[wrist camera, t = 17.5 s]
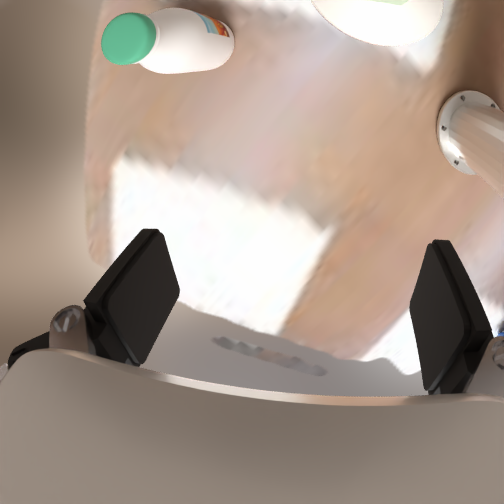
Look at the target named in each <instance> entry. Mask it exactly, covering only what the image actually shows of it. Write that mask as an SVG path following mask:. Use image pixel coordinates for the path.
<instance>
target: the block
mask: <svg viewBox="0 0 504 504" xmlns="http://www.w3.org/2000/svg"><path fill="white" fill-rule="evenodd" d="M367 1H375V2H382V3H388V4H394V5H399V6H401V5H403V4H404V3H406V2H407V1H409V0H367Z"/></svg>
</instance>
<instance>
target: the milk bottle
mask: <svg viewBox="0 0 504 504" xmlns="http://www.w3.org/2000/svg"><path fill="white" fill-rule="evenodd" d="M101 47H102V51H103V54H104V56H105V57H106V58H107V59H108V60H109V61H110V62H112V63H115V64H118V65H127V64H135V63H139V64H141V65H142V66H143V67H145V68H147V69H148V70H151V71H154V72H157V73H164V74H174V73H186V72H195V71H205V70H211V69H215V68H217V67H219V66H221V65H223V64H224V63H225V62H226V61H227V60H228V59H229V58H230V56H231V54H232V52H233V49H234V36H233V33H232V31H231V30H230V28H229V27H228V26H227V25H226V24H224V23H223V22H221V21H219V20H216V19H214V18H211V17H209V16H206V15H203V14H200V13H197V12H194V11H191V10H187V9H182V8H166V9H161V10H158V11H155V12H153V13H151V14H149V15H146V14H139V13H125V14H121V15H119V16H117V17H115V18H114V19H113V20H112V21H111V22H110V23H109V24H108V25H107V27H106V28H105V30H104V32H103V35H102V41H101Z"/></svg>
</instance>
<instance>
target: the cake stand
mask: <svg viewBox="0 0 504 504" xmlns="http://www.w3.org/2000/svg"><path fill="white" fill-rule="evenodd" d="M311 2H312V4H313V5H314V7H315V8H316V9H317V11H318V12H319V13H320V14H321V15H322V16H323V18H325V19H326V20H327V21H328V22H329V23H330V24H331V25H333V26H334V27H335V28H337V29H338V30H340V31H341V32H343V33H345V34H346V35H348V36H351V37H353V38H355V39H357V40H360V41H363V42H366V43H370V44H374V45H380V46H400V45H406V44H410V43H414V42H417V41H419V40H421V39H423V38H425V37H426V36H427V35H429V34H430V33H431V32H432V31H433V30H434V29H435V28H436V26H437V25H438V23H439V21H440V19H441V16H442V12H443V0H409V1H407V2H406V3H404V4H403V5H401V6H399V5H394V4H388V3H382V2H375V1H367V0H311Z"/></svg>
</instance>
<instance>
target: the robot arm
mask: <svg viewBox="0 0 504 504" xmlns="http://www.w3.org/2000/svg"><path fill="white" fill-rule="evenodd" d="M460 96H461V99H460ZM442 125H443V128H441V126H442ZM437 139H438V144H439V146H440V149H441V151H442V153H443V155H444V157H445V158H446V159H447V161H448V162H449V163H450V164H451V165H452V166H453V167H454V168H456V169H457V170H459V171H460V172H463V173H465V174H471V175H477V174H478V175H479V176H480V177H481V178H482V179H483V180H484V181H485V182H486V183H487V184H488V185H490V186H491V187H492V188H493V189H494V190H495V191H496V192H497V193H498V194H499V195H500V196H501V197H502V198H503V199H504V112H503V111H501V110H500V108H499V107H498V106H497V104H496V103H495V102H494V101H493V100H492V99H491V98H490V97H488V96H487V95H485V94H483V93H481V92H478V91H474V90H464V91H459V92H457V93H455V94H453V95H452V96H451V97H450V98H448V99H447V101H446V102H445V103H444V105H443V106H442V108H441V110H440V113H439V116H438V120H437ZM454 161H455V162H454ZM179 293H180V288H179V285H178V282H177V278H176V275H175V272H174V269H173V265H172V262H171V259H170V255H169V252H168V248H167V245H166V241H165V238H164V235H163V234H162V233H160V231H159V230H158V229H142V230H141V231H140V232H139V233H138V235H137V236H136V237H135V238H134V239H133V240H132V241H131V243H130V244H129V245H128V246H127V247H126V248H125V250H124V251H123V252H122V253H121V254H120V255H119V257H118V258H117V259H116V260H115V261H114V263H113V264H112V265H111V266H110V267H109V269H108V270H107V271H106V272H105V274H104V275H103V276H102V277H101V279H100V280H99V281H98V282H97V284H96V285H95V286H94V287H93V289H92V290H91V291H90V293H89V294H88V295H87V297H86V298H85V299H84V300H83V301H84V303H85V305H86V308H85V309H84V310H83V308H82V307H81V306H78V305H70V306H67V307H65V308H63V309H61V310H60V311H58V312H57V313H56V314H55V316H54V317H53V318H52V320H51V323H50V331H49V332H46V333H44V334H42V335H40V336H38V337H36V338H33V339H31V340H29V341H27V342H25V343H23V344H21V345H19V346H17V347H16V348H15V349H13V351H12V353H11V355H10V357H9V360H8V365H7V364H6V363H5V364H3V365H2V366H1V367H0V504H504V336H498V337H495V338H494V337H493V334H492V332H491V331H492V329H491V326H490V323H489V321H488V318H487V316H486V314H485V311H484V309H483V306H482V304H481V302H480V300H479V297H478V295H477V293H476V291H475V289H474V286H473V284H472V282H471V280H470V278H469V276H468V274H467V272H466V270H465V268H464V266H463V264H462V262H461V260H460V258H459V256H458V255H457V253H456V251H455V249H454V247H453V245H452V244H451V242H450V241H449V240H436V239H435V240H433V242H432V244H431V243H429V244H428V246H427V249H426V253H425V256H424V260H423V263H422V267H421V270H420V273H419V276H418V280H417V283H416V286H415V289H414V292H413V295H412V298H411V301H410V307H409V308H410V315H411V319H412V324H413V328H414V333H415V338H416V343H417V348H418V354H419V360H420V366H421V372H422V379H423V386H424V389H425V390H426V391H427V390H428V393H429V395H422V396H393V397H392V396H391V397H347V396H346V397H344V396H323V395H322V396H321V395H307V394H294V393H283V392H273V391H264V390H256V389H248V388H241V387H233V386H227V385H221V384H215V383H209V382H204V381H198V380H193V379H188V378H183V377H178V376H174V375H169V374H165V373H160V372H156V371H151V370H147V369H143V368H140V367H139V366H140V364H143V363H144V362H145V361H146V359H147V356H148V355H149V353H150V351H151V349H152V347H153V345H154V342H155V341H156V339H157V337H158V335H159V333H160V331H161V329H162V327H163V325H164V323H165V322H166V320H167V318H168V316H169V314H170V312H171V310H172V308H173V306H174V304H175V303H176V301H177V299H178V297H179Z"/></svg>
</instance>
